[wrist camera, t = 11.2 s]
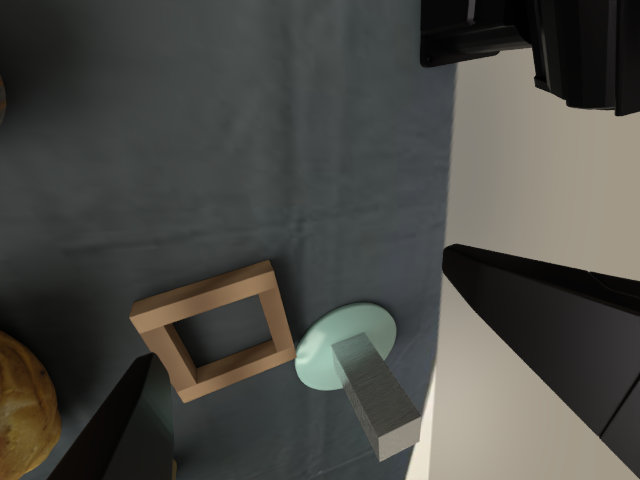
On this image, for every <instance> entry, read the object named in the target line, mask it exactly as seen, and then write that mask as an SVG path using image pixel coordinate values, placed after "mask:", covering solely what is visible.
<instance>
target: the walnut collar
mask: <svg viewBox="0 0 640 480" xmlns="http://www.w3.org/2000/svg"><path fill="white" fill-rule="evenodd" d="M255 294H259V298H260V301H261V304H262V307H263V310H264V313H265V316H266V320H267V323H268V326H269V329H270V332H271V335H272V338H273V339H272V340H270V341H267V342H264V343H262V344H259V345H257V346H254V347H251V348H249V349H246V350H243V351H241V352H238V353H236V354H233V355H230V356H228V357H225V358H223V359H220V360H217V361H215V362H212V363H209V364H207V365H204V366H202V367H199V368H196V366H195V364H194V362H193V361H192V359H191V357H190V355H189V353H188V352H187V350H186V348H185V346H184V344H183V342H182V341H181V339H180V337H179V335H178V333H177V331H176V330H175V328H174V326H173V324H172V323H173V322H176V321H179V320H181V319H184V318H187V317H190V316H193V315H196V314H199V313H202V312H205V311H208V310H211V309H214V308H217V307H220V306H223V305H226V304H228V303H231V302H234V301H237V300H240V299H243V298H246V297H249V296H252V295H255ZM129 318H130V320H131V321H132V323H133V324H134V326H135V328H136V329H137V331H138V332H139V334H140V335H141V337H142V338H143V340H144V342H145V343H146V345H147V346H148V348H149V349H150V351H151V352H154V353H156V354H157V355H158V357H159V358H160V360H161V362H162V363H163V365H164V366H165V368H166V369H167V371H168V373H169V377H170V382H171V383H172V385H173V387H174V388H175V390H176V391H177V393H178V394H179V396H180V397H181V399H182V401H183V402H184V403H186V402H189V401H191V400H194V399H196V398H198V397H201V396H203V395H206V394H208V393H211V392H213V391H216V390H218V389H221V388H223V387H226V386H228V385H231V384H233V383H235V382H238V381H240V380H243V379H245V378H248V377H250V376H253V375H255V374H258V373H260V372H263V371H265V370H268V369H270V368H272V367H275V366H277V365H280V364H282V363H285V362H287V361H290V360H292V359H295V358H297V355H296V352H295V348H294V344H293V341H292V337H291V333H290V330H289V326H288V322H287V318H286V315H285V311H284V307H283V304H282V300H281V296H280V293H279V289H278V285H277V282H276V278H275V274H274V270H273V268H272V266H271V263H270V261H269V260H266V261H263V262H259V263H256V264H253V265H250V266H247V267H244V268H240V269H237V270H234V271H231V272H228V273H225V274H221V275H218V276H215V277H212V278H209V279H206V280H203V281H199V282H196V283H193V284H190V285H187V286H184V287H180V288H177V289H174V290H171V291H168V292H165V293H161V294H158V295H155V296H152V297H149V298H146V299H142V300H139V301H136V302H133V305H132V309H131V313H130V316H129Z"/></svg>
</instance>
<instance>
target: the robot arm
mask: <svg viewBox="0 0 640 480" xmlns="http://www.w3.org/2000/svg"><path fill="white" fill-rule="evenodd" d="M420 30H421V42H420V64H421V66H422V67H425V68H428V67H435V66H440V65H445V64H451V63H456V62H461V61H467V60H473V59H478V58H484V57H489V56H494V55H497V54H498V53H499V52H500V51H503V50H513V49H523V48H532V51H533V58H534V64H535V72H536V76H535V77H534V81H535V87H537V88H539V89H542V90H544V91H547V92H550V93H552V94H554V95H556V96H557V97H560V98H561V99H564V100H566V105H567V106H568V107H572V108H579V109H588V110H590V109H591V110H592V109H596V110H615V116H624V115H628V114H631V113H636V112H640V0H421V28H420ZM428 55H429V58H430V59H429V62H427V57H428ZM442 270H443V273H444V274H445V276H446V277H447V278H448V280H449V281H450V282H451V283H452V284H453V286H454V287H455V288H456V289H457V291H458V292H459V293H460V294H461V296H462V297H463V298H464V299H465V301H466V302H467V303H468V304H469V305H470V306H471V308H472V309H473V310H474V311H475V312H476V313H477V314H478V315H479V316H480V317H481V318H482V319H483V320H484V321H485V322H486V323H487V324H488V325H489V326H490V327H491V328H492V329H493V330H494V331H495V332H496V334H497V335H498V336H499V337H500V338H501V339H502V340H503V341H504V342H505V343H506V344H508V346H509V347H510V348H511V349H512V350H513V351H514V352H515V353H516V354H517V355H518V356H519V357H520V358H521V359H522V360H523V361H524V362H525V363H526V364H527V365H528V366H529V367H530V368H531V369H532V370H533V371H534V372H535V373H536V374H537V375H538V376H539V377H540V378H541V379H542V380H543V381H544V382H545V383H546V384H547V385H548V386H549V387H550V388H551V389H552V390H553V391H554V392H555V393H556V394H557V395H558V396H559V397H560V398H561V399H562V400H563V402H564V403H566V404H567V406H569V408H570V409H571V410H572V411H573V412H574V413H575V414H576V415H577V416H578V417H579V418H580V419H581V420H582V421H583V422H584V423H585V424H586V425H587V426H588V427H589V428H590V429H591V430H592V431H593V432H594V433H595V434H596V435H597V436H599V438H600V439H601V440H602V441H603V442H604V443H605V444H606V445H607V446H608V447H609V448H610V450H611V451H613V453H614V454H615V455H617V456H618V458H619V459H620V460H621V461H623V463H624V464H625V465H626V466H627V467H628V468H629V469H630V470H631V471H632V472H633V473H634V474H635V475H636V476H637V477H638V478H639V479H640V281H636V280H630V279H625V278H620V277H615V276H610V275H605V274H600V273H596V272H588V271H585V270H581V269H576V268H571V267H567V266H562V265H557V264H552V263H547V262H543V261H538V260H533V259H528V258H523V257H518V256H514V255H509V254H504V253H499V252H495V251H490V250H485V249H480V248H475V247H471V246H466V245H461V244H453V245H450V246H448V247H446V248H445V249H444V251H443V261H442ZM173 449H174V431H173V416H172V402H171V387H170V377H169V373H168V371H167V369H166V368H165V366H164V365H163V363H162V362H161V360H160V358H159V357H158V355H157V354H156V353H154V352H151V353H148V354H145V355H142V356H140V357H138V358H136V359H135V360H134V362H133V363H132V364H131V366H130V367H129V369H128V370H127V371H126V373H125V374H124V375H123V377H122V378H121V379H120V381H119V382H118V383H117V385H116V386H115V387H114V389H113V390H112V392H111V393H110V394H109V396H108V397H107V398H106V400H105V401H104V402H103V404H102V405H101V406H100V408H99V409H98V410H97V412H96V413H95V415H94V416H93V417H92V419H91V420H90V421H89V423H88V424H87V425H86V427H85V428H84V429H83V431H82V432H81V434H80V435H79V436H78V438H77V439H76V440H75V442H74V443H73V444H72V446H71V447H70V448H69V450H68V451H67V452H66V454H65V455H64V457H63V458H62V459H61V461H60V462H59V463H58V465H57V466H56V467H55V469H54V470H53V471H52V473H51V474H50V475H49V477H48V478H47V480H172V470H173Z"/></svg>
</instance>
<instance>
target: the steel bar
mask: <svg viewBox="0 0 640 480" xmlns="http://www.w3.org/2000/svg"><path fill="white" fill-rule="evenodd" d="M331 351H332V357H333V364H334V369H335V371H336V373H337V375H338V378H339V380H340V382H341V384H342V386H343V388H344V390H345V392H346V394H347V396H348V398H349V400H350V402H351V404H352V406H353V408H354V410H355V412H356V415H357V417H358V419H359V421H360V423H361V425H362V427H363V429H364V431H365V433H366V435H367V437H368V439H369V441H370V443H371V445H372V447H373V449H374V452H375V454H376V456H377V458H378V460H379V462H381V461H383V460H385V459H387V458H388V457H390V456H392V455H394V454H396V453H398V452H400V451H402V450H404V449H406V448H408V447H410V446H412V445H413V444H415V443H417V442H419V439H420V428H421V415H420V413H419V412H418V411H417V409H416V408H415V406H414V405H413V403H412V402H411V400H410V399H409V397H408V396H407V394H406V393H405V391H404V390H403V388H402V387H401V385H400V384H399V382H398V381H397V380H396V378H395V377H394V375H393V374H392V372H391V371H390V369H389V368H388V366H387V365H386V363H385V362H384V360H383V359H382V357H381V356H380V354H379V353H378V351H377V350H376V349H375V347H374V346H373V344H372V343H371V341H370V340H369V338H368V337H367V335H366V334H365V332H363V333H360V334H357V335H355V336H352V337H350V338H347V339H345V340H342V341H340V342H337V343H335V344H332V345H331Z"/></svg>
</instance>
